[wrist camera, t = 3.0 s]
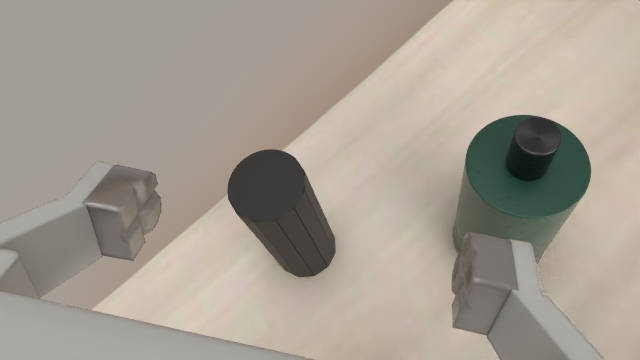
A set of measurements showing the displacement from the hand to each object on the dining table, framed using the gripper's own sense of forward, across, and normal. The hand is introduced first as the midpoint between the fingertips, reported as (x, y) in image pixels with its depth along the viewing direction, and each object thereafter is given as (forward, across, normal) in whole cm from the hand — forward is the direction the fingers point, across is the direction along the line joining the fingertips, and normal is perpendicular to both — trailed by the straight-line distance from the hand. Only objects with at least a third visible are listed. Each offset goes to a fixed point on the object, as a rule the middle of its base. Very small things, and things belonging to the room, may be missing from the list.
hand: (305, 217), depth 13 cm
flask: (+24, -14, +22) cm, 35 cm away
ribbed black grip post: (+22, +3, +26) cm, 35 cm away
